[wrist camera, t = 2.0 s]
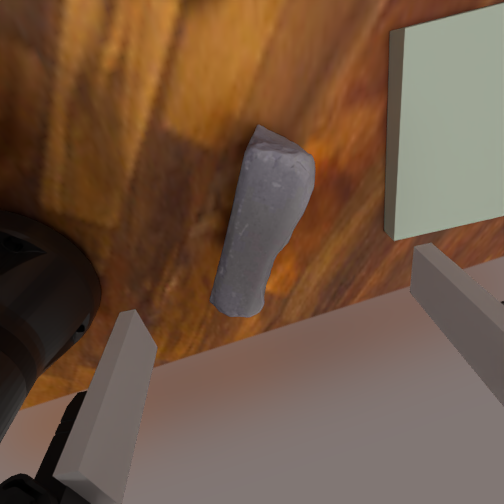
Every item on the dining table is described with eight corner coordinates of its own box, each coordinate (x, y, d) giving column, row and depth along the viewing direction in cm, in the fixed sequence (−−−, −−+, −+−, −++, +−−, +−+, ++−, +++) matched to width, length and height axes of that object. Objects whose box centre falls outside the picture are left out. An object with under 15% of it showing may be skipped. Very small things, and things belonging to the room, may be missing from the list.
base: (384, 230, 29) (393, 240, 28) (390, 31, 21) (404, 28, 19) (539, 194, 29) (559, 202, 27) (612, -26, 20) (648, -34, 18)
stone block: (239, 111, 22) (251, 141, 14) (298, 130, 24) (342, 167, 15) (206, 244, 28) (200, 322, 20) (254, 254, 29) (269, 332, 21)
